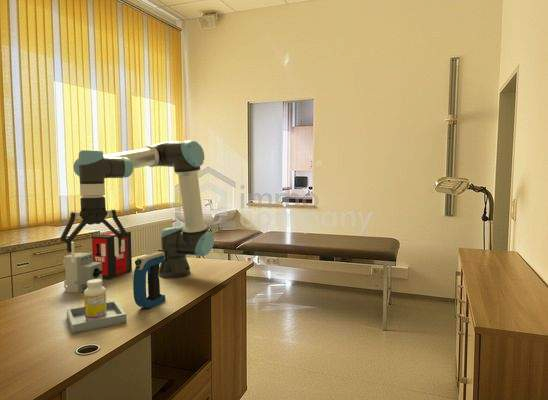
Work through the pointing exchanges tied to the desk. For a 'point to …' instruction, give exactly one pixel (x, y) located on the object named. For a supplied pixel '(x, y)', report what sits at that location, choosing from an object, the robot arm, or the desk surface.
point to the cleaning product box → (112, 254)
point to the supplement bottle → (95, 300)
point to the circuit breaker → (80, 272)
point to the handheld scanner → (139, 279)
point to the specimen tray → (82, 325)
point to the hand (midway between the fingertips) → (95, 258)
